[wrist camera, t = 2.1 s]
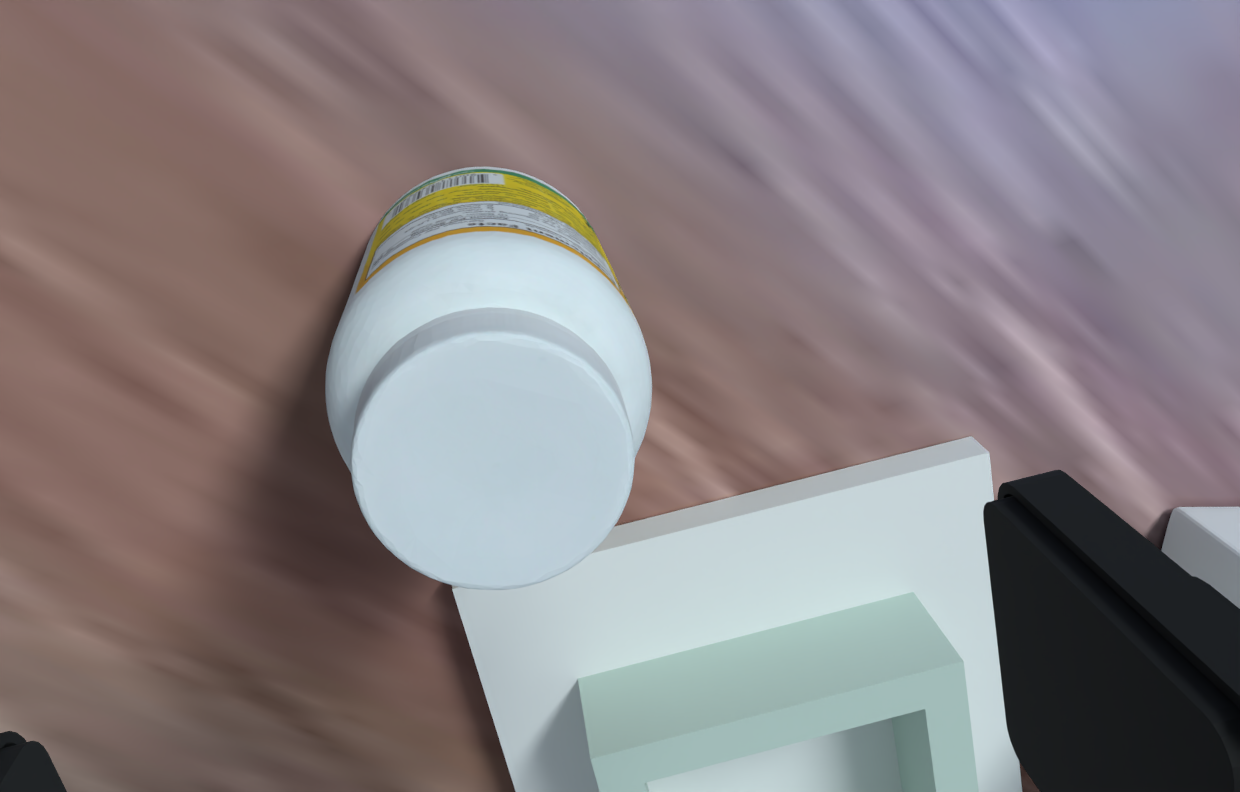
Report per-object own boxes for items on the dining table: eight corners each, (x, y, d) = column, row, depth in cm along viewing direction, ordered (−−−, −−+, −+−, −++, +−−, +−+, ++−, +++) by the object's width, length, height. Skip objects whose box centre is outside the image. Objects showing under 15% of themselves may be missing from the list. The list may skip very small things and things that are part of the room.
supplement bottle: (431, 116, 23) (409, 205, 14) (651, 237, 25) (756, 387, 16) (318, 336, 24) (234, 544, 15) (535, 439, 26) (570, 683, 17)
